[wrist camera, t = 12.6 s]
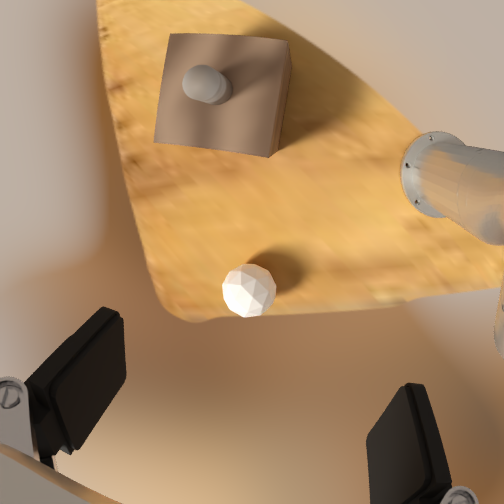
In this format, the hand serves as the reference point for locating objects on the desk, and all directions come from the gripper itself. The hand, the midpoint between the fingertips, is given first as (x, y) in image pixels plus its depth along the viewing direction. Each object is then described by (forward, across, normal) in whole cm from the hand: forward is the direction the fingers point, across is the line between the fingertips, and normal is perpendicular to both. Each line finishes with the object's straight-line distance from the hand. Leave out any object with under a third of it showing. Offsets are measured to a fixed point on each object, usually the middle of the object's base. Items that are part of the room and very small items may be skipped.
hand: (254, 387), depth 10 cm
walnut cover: (+38, +10, -10) cm, 40 cm away
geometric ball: (+38, +3, +16) cm, 41 cm away
